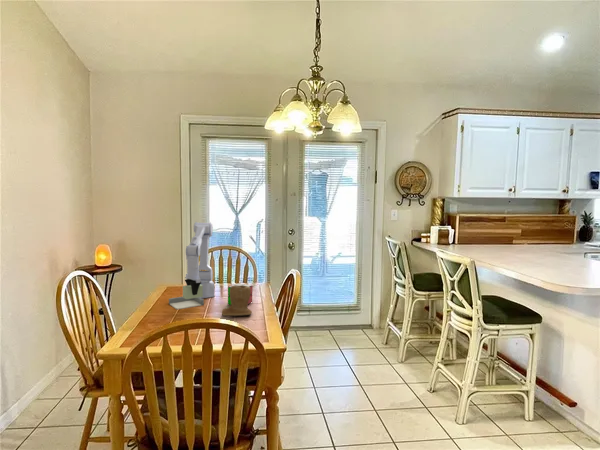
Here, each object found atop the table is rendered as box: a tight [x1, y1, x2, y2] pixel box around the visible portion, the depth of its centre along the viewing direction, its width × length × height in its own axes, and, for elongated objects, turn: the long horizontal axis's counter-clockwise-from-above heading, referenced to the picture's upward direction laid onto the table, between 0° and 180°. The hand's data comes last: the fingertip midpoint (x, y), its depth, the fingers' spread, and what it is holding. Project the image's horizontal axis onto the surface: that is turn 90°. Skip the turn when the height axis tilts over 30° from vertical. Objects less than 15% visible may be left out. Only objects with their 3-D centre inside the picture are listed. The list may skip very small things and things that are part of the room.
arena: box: [168, 296, 205, 310], centre depth 212 cm, size 15×12×3 cm
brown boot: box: [221, 285, 253, 317], centre depth 197 cm, size 15×12×15 cm
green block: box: [182, 284, 203, 299], centre depth 203 cm, size 9×4×6 cm, turn 128°
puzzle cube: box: [227, 282, 253, 306], centre depth 217 cm, size 10×10×10 cm
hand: (192, 293), depth 203 cm, fingers closed on green block, 4 cm apart
